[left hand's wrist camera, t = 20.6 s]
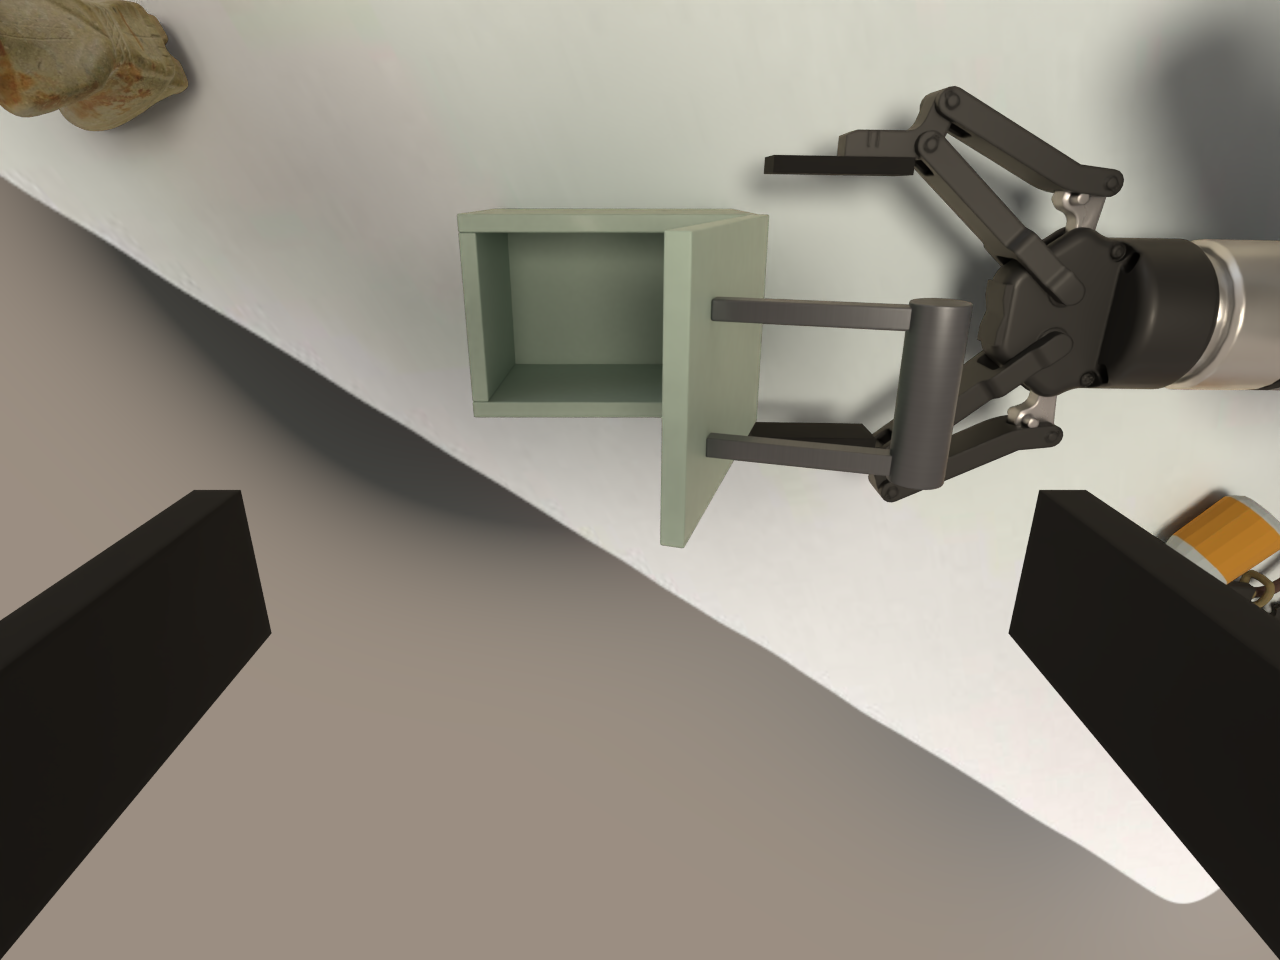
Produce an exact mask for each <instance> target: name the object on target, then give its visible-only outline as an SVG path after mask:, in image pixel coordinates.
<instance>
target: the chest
mask: <svg viewBox="0 0 1280 960" xmlns="http://www.w3.org/2000/svg"><path fill="white" fill-rule="evenodd" d="M752 214H754V213H749V212H744V211H740V210H735V209H490V210H483V211H475V212H468V213H460V214H457V222H458V231H459V232H460V233H459V245H460V257H461V269H462V280H463V292H464V304H465V316H466V328H467V339H468V351H469V363H470V375H471V387H472V398H473V401H474V402H473V411H474V417H662V367H663V287H664V232H665V231H666V230H671V229H676V228H682V227H687V226H692V225H698V224H703V223H709V222H714V221H720V220H725V219H731V218H736V217H741V216H747V215H752ZM756 215H758V214H756Z"/></svg>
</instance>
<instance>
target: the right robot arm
mask: <svg viewBox="0 0 1280 960" xmlns="http://www.w3.org/2000/svg"><path fill="white" fill-rule="evenodd" d="M947 133H948V134H950V135H951V136H953V137H955V138H956V139H958V140H960V141H961V142H963V143H964V144H966V145H968V146H969V147H971V148H972V149H974V150H976V151H977V152H979V153H980V154H982V155H984V156H985V157H987V158H988V159H990V160H992V161H993V162H995V163H997V164H998V165H1000V166H1001V167H1003V168H1005V169H1006V170H1008V171H1009V172H1011V173H1013V174H1014V175H1016V176H1017V177H1019V178H1021V179H1022V180H1024V181H1026V182H1027V183H1029V184H1030V185H1032V186H1034V187H1036V188H1038V189H1041V190H1044V191H1046V192H1051V193H1054V194H1053V196H1052V203H1053V205H1054V207H1055V208H1056V209H1057V210H1059V211H1061V212H1063V213H1064V214H1065V216H1066V219H1067V223H1066V227H1064V228H1061V229H1059V230H1057V231H1055V232H1054V233H1052V234H1051V235H1049V236H1048V237H1046V238H1045V239H1043V240H1041V239H1040V238H1039V236H1038V235H1037V234H1035V233H1034V232H1033V231H1031V230H1030V229H1028V228H1026V227H1025V226H1024V225H1023V224H1022V223H1021V222H1020V221H1019V219H1018V218H1017V217H1016V216H1015V215H1014V214H1013V213H1012V212H1011V211H1010V209H1009V208H1008V207H1007V206H1006V205H1005V204H1004V203H1003V202H1002V201H1001V199H1000V198H999V197H998V196H997V195H996V194H995V193H994V192H993V191H992V190H991V188H990V187H989V186H988V185H987V184H986V183H985V182H984V181H983V180H982V178H981V177H980V176H979V175H978V174H977V173H976V172H975V171H974V170H973V168H972V167H971V166H970V165H969V164H968V163H967V162H966V161H965V160H964V158H963V157H962V156H961V155H960V154H959V153H958V152H957V151H956V150H955V148H954V147H953V146H952V145H951V144H950V143H949V142H948V141H947V140H946V138H945V136H946V134H947ZM914 169H915V170H916V171H917V172H918V173H919V174H920V176H921V177H922V178H923V179H924V180H925V181H926V182H927V183H928V184H929V185H930V186H931V187H932V188H933V190H934V191H935V192H936V193H937V194H938V195H939V196H940V197H941V198H942V199H943V200H944V201H945V202H946V204H947V205H948V206H949V207H950V208H951V209H952V210H953V211H954V212H955V213H956V214H957V215H958V216H959V218H960V219H961V220H962V221H963V222H964V223H965V224H966V225H967V226H968V227H969V228H970V229H971V230H972V232H973V233H974V234H975V235H976V236H977V237H978V238H979V239H980V240H981V241H982V242H983V244H984V248H985V249H986V250H987V252H988V253H989V254H990V255H991V256H992V257H993V258H994V259H995V260H996V261H997V262H998V263H999V264H1000V266H1001V268H1000V269H999V270H998V271H997V273H996V274H995V276H994V278H993V280H988V283H987V289H986V294H985V296H986V313H985V315H984V317H983V319H982V321H981V324H980V327H979V332H978V338H977V339H978V340H980V341H981V344H982V348H983V351H981V352H980V353H979V354H977V355H976V356H975V357H973V358H972V359H970V360H969V361H968V362H966V363H965V364H964V365H963V369H962V375H961V381H960V387H959V394H958V400H957V406H956V412H955V418H954V424H953V426H954V425H955V424H957V423H958V422H959V421H961V420H962V419H964V418H965V417H967V416H968V415H970V414H971V413H972V412H974V411H975V410H977V409H978V408H980V407H981V406H982V405H984V404H985V403H987V402H988V401H990V400H992V399H995V398H1000V397H1003V396H1005V395H1006V394H1008V393H1009V392H1011V391H1012V390H1013V389H1015V388H1016V387H1018V386H1019V385H1022V386H1023V387H1024V388H1025V389H1027V390H1029V391H1030V393H1029V397H1028V398H1027V400H1026V401H1025V402H1023V403H1022V404H1019V405H1016V406H1012V407H1010V408H1009V409H1008V411H1007V413H1008V415H1005V416H999V417H995V418H991V419H989V420H986V421H983V422H981V423H979V424H976V425H974V426H972V427H969V428H967V429H965V430H962V431H960V432H958V433H955V434H953V435H952V436H951V442H950V448H949V454H948V460H947V467H946V473H945V479H944V481H946V480H948V479H951V478H953V477H955V476H958V475H960V474H963V473H965V472H967V471H970V470H972V469H975V468H977V467H979V466H982V465H984V464H987V463H989V462H991V461H994V460H996V459H999V458H1001V457H1003V456H1006V455H1008V454H1011V453H1013V452H1015V451H1018V450H1026V449H1036V448H1047V447H1053V446H1056V445H1057V444H1059V442H1060V441H1061V440H1062V437H1063V431H1062V430H1061V428H1059V427H1058V426H1056V425H1054V416H1055V407H1056V398H1057V395H1059V394H1061V393H1063V392H1066V391H1068V390H1071V389H1075V388H1112V389H1159V388H1163V387H1165V388H1168V389H1178V390H1280V241H1272V240H1221V239H1201V240H1192V241H1188V240H1184V239H1160V238H1107V237H1105V236H1103V235H1101V234H1099V233H1098V232H1097V231H1095V229H1096V226H1097V223H1098V220H1099V217H1100V214H1101V211H1102V208H1103V205H1104V202H1105V199H1106V197H1111V196H1113V195H1116V194H1117V193H1118V192H1119V191H1120V190H1121V188H1122V186H1123V182H1124V178H1123V175H1122V173H1121V172H1120V171H1118V170H1115V169H1108V168H1101V167H1094V166H1088V165H1081V164H1079V163H1078V162H1076V161H1074V160H1073V159H1071V158H1070V157H1068V156H1067V155H1065V154H1063V153H1062V152H1060V151H1059V150H1057V149H1056V148H1054V147H1052V146H1051V145H1049V144H1048V143H1046V142H1045V141H1043V140H1041V139H1040V138H1038V137H1037V136H1035V135H1034V134H1032V133H1030V132H1029V131H1027V130H1026V129H1024V128H1023V127H1021V126H1019V125H1018V124H1016V123H1015V122H1013V121H1012V120H1010V119H1008V118H1007V117H1005V116H1004V115H1002V114H1001V113H999V112H997V111H996V110H994V109H993V108H991V107H990V106H988V105H986V104H985V103H983V102H982V101H980V100H979V99H977V98H975V97H974V96H972V95H971V94H969V93H968V92H966V91H964V90H963V89H961V88H959V87H956V86H952V87H948V88H945V89H942V90H939V91H936V92H933V93H930V94H928V95H926V96H925V97H924V98H923V100H922V102H921V104H920V112H919V114H918V117H917V119H916V121H915V123H914V124H913V125H912V127H911V128H909V129H908V130H855V131H851V132H848V133H846V134H843V135H841V136H839V141H838V151H837V156H803V155H773V156H769V157H765V166H764V174H800V175H860V176H905V175H913V173H914ZM893 421H894V419H893V420H892V421H890V422H889V423H887V424H886V425H885V426H883V427H882V428H880V429H879V430H878V431H876V432H875V433H873V434H871V433H870V432H869V431H868V430H867V429H866V427H865V426H864V425H863V424H848V423H779V422H755V424H754V426H753V427H752V429H751V431H750V433H749V434H748V436H753V437H763V438H774V439H784V440H795V441H805V442H816V443H827V444H837V445H848V446H858V447H869V448H879V449H890V444H891V436H892V429H893ZM868 478H869V481H870V483H871V484H872V486H873V487H874V488H875V489H876V491H877V492H878V493H879V494H880V496H881V497H882V498H883V499H884V500H885V501H887V502H895V501H898V500H900V499H902V498H905V497H907V496H910V495H912V494H914V493H917V492H919V491H922V490H917V489H909V488H905V487H901V486H898V485H895V484H893V483H891V482H890V481H889V480H888V479H887V477H886V476H882V475H872V474H869V476H868Z"/></svg>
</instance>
